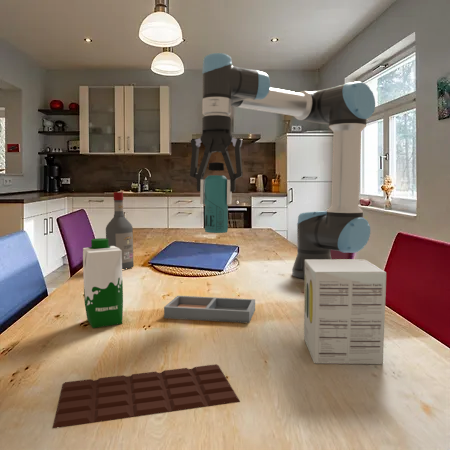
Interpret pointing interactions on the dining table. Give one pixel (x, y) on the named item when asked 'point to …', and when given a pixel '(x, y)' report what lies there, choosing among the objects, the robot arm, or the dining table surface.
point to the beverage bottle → (216, 201)
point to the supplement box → (344, 311)
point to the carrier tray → (210, 309)
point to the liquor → (121, 232)
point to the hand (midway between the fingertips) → (216, 203)
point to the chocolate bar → (142, 395)
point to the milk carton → (103, 283)
